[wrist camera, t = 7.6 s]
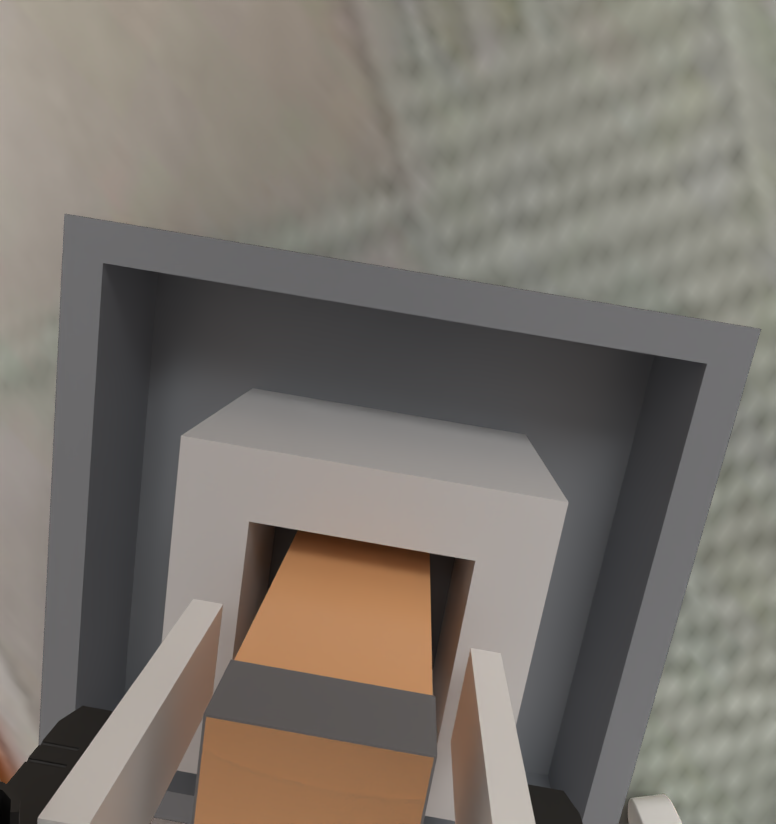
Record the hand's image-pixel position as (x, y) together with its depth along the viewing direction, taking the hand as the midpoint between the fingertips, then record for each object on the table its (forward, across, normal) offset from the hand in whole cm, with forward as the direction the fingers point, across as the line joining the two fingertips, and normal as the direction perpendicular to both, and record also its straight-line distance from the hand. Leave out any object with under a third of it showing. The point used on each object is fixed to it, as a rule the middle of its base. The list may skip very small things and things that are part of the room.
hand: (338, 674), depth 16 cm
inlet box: (+9, 0, 0) cm, 9 cm away
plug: (+5, 0, 0) cm, 5 cm away
